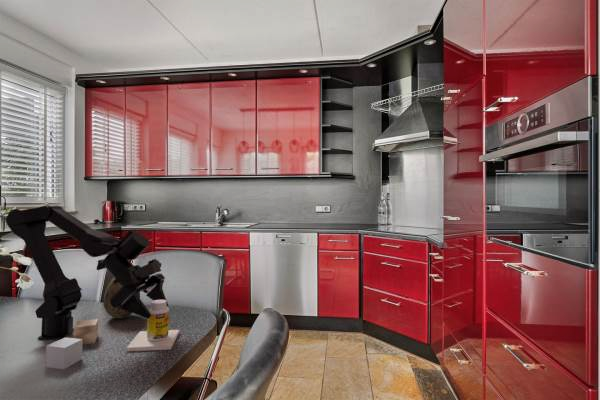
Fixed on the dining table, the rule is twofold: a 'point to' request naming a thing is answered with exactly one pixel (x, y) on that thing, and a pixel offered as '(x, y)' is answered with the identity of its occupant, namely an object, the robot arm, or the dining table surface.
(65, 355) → the pale grey block
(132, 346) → the cream square tile
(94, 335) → the birch block
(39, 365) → the dining table surface
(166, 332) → the supplement bottle
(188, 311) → the dining table surface
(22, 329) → the dining table surface
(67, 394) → the dining table surface
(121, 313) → the decorative egg
